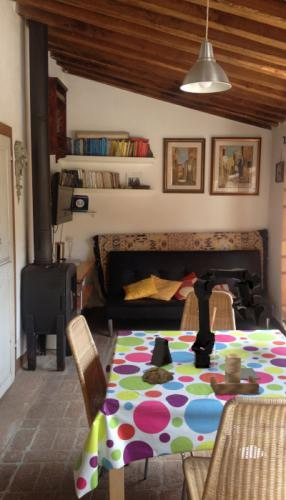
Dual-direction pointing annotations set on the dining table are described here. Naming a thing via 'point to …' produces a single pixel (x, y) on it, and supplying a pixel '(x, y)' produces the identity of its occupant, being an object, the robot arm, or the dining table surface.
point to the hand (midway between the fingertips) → (251, 322)
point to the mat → (248, 374)
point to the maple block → (232, 368)
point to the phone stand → (161, 353)
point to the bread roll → (157, 376)
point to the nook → (235, 387)
